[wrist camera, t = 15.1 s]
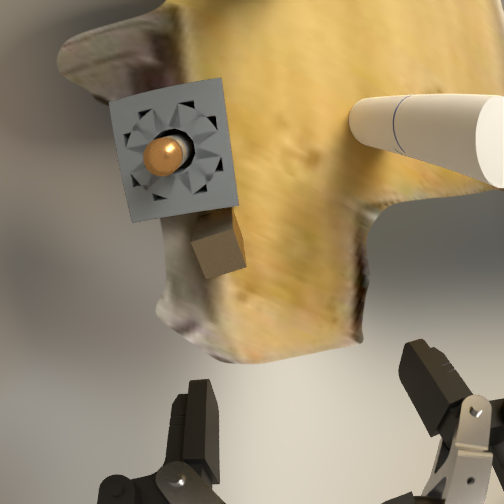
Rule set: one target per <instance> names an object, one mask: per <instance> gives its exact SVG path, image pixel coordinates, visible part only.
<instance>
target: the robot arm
mask: <svg viewBox="0 0 504 504" xmlns="http://www.w3.org/2000/svg"><path fill="white" fill-rule="evenodd" d="M399 378H400V380H401V383H402V384H403V386H404V388H405V390H406V392H407V393H408V395H409V397H410V399H411V401H412V403H413V404H414V406H415V408H416V410H417V412H418V414H419V416H420V417H421V419H422V421H423V423H424V425H425V427H426V429H427V431H428V433H429V435H430V437H433V436H435V435H437V434H440V435H441V437H442V438H441V440H440V443H439V447H438V451H437V455H436V459H435V462H434V466H433V469H432V472H431V476H430V478H429V481H428V482H427V484H426V486H425V488H424V490H423V492H422V495H421V496H413V494H412V492H409V493H407V494H404V495H401V496H399V497H396V498H393V499H390V500H388V501H385V502H384V503H382V504H484V502H485V498H486V494H487V489H488V484H489V478H490V473H491V467H492V466H493V468H494V470H495V472H496V475H497V477H498V479H499V481H500V484H501V486H502V488H503V491H504V399H498V400H492V401H488V400H487V399H486V398H485V397H483V396H480V395H473V394H472V392H471V391H470V390H469V388H468V387H467V385H466V384H465V382H464V381H463V379H462V378H461V377H460V375H459V374H458V373H457V371H456V370H454V367H453V366H452V364H451V363H450V362H449V360H448V359H447V357H446V356H445V355H444V353H442V352H441V351H439V350H438V349H436V348H435V347H433V348H430V347H429V346H428V344H427V343H426V342H425V340H423V339H418V340H415V341H412V342H408V343H406V344H405V346H404V349H403V354H402V357H401V361H400V365H399ZM212 484H220V470H219V410H218V404H217V401H216V398H215V395H214V392H213V389H212V385H211V382H210V380H209V379H202V380H191V381H190V382H189V389H188V394H179V395H178V396H177V398H176V399H175V401H174V403H173V404H172V410H171V418H170V427H169V433H168V441H167V450H166V458H165V462H164V464H163V466H162V467H161V468H160V469H159V470H158V471H157V472H155V473H154V474H152V475H149V476H145V477H141V478H136V479H131V480H130V479H129V478H127V477H125V476H123V475H111V476H109V477H107V478H106V479H104V480H103V482H102V483H101V485H100V488H99V494H98V502H97V504H226V503H225V502H224V501H223V500H222V499H221V498H220V497H219V496H218V495H217V494H216V493H215V492H214V491H213V490H212Z"/></svg>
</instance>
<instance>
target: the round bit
mask: <svg viewBox="0 0 504 504" xmlns="http://www.w3.org/2000/svg"><path fill="white" fill-rule="evenodd" d="M192 152H193V144H192V142H191V140H190V139H189V138H188V137H187V136H185V135H183V134H174V135H170V136H166V137H162V138H158V139H155V140H153V141H151V142H150V143H149V144H148V145H147V147H146V148H145V150H144V154H143V161H144V164H145V167H146V168H147V170H148V171H149V172H151V173H152V174H154V175H156V176H167V175H170V174H172V173H173V172H174V171H176V170H177V169H178V168H179V167H180V166H181V165H182V164H183V163H185V162H186V161H187V160H188V159H189V158H190V157H191V155H192Z"/></svg>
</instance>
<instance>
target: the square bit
mask: <svg viewBox="0 0 504 504" xmlns="http://www.w3.org/2000/svg"><path fill="white" fill-rule="evenodd" d="M191 244H192V247H193V249H194V252H195V254H196V256H197V259H198V261H199V263H200V266H201V268H202V271H203V273H204V275H205V278H206V279H209V278H212V277H216V276H219V275H222V274H226V273H229V272H232V271H235V270H239V269H242V268H245V267H246V259H245V251H244V243H243V237H242V234H241V231H240V229H239V226H238V223H237V220H236V217H235V214H234V211H233V208H232V207H229V208H226V209H222V210H219V211H216V212H213V213H210V214H207V215H204V216H201V217H198V219H197V222H196V225H195V229H194V232H193V236H192V239H191Z"/></svg>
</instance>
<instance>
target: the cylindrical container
mask: <svg viewBox="0 0 504 504" xmlns="http://www.w3.org/2000/svg"><path fill="white" fill-rule="evenodd" d="M349 126H350V130H351V132H352V134H353V136H354V137H355V138H356V139H357V140H358V141H359V142H360V143H362V144H364V145H366V146H370V147H374V148H378V149H382V150H386V151H390V152H393V153H397V154H401V155H404V156H408V157H411V158H414V159H418V160H421V161H424V162H428V163H431V164H434V165H437V166H440V167H443V168H446V169H449V170H452V171H455V172H458V173H461V174H464V175H466V176H469V177H472V178H475V179H477V180H480V181H482V182H485V183H488V184H490V185H493V186H495V187H498V188H504V97H503V96H497V95H478V94H419V95H399V96H385V97H373V98H365V99H362V100H359V101H358V102H357V103H356V104H355V105H354V106H353V107H352V109H351V111H350V114H349Z"/></svg>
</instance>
